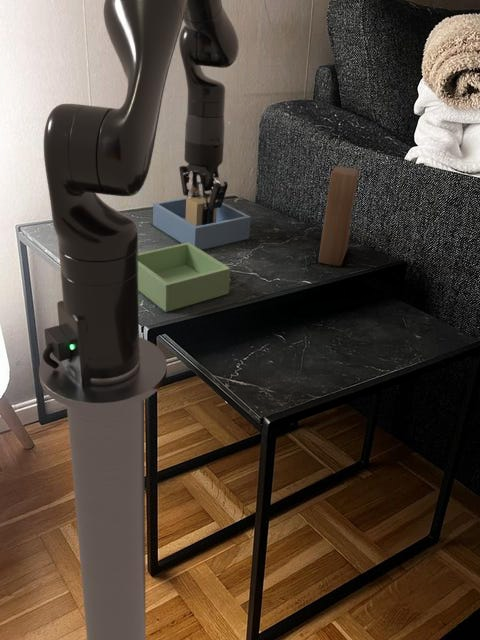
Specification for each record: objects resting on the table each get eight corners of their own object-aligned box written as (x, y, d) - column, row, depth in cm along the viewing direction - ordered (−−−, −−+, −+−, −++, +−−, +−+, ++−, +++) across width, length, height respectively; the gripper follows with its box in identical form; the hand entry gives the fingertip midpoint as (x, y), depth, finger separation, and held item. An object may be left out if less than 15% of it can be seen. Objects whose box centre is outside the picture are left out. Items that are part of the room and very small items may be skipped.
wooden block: (325, 246, 126) (338, 159, 117) (347, 250, 125) (362, 162, 116) (317, 263, 118) (331, 171, 109) (340, 267, 117) (356, 175, 108)
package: (196, 232, 124) (197, 204, 121) (185, 226, 127) (185, 198, 124) (215, 228, 127) (217, 200, 124) (204, 222, 130) (206, 194, 127)
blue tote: (194, 251, 119) (195, 228, 116) (152, 225, 129) (152, 203, 127) (249, 238, 126) (250, 216, 124) (205, 214, 137) (206, 194, 134)
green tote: (165, 312, 97) (166, 285, 95) (126, 281, 106) (126, 255, 103) (228, 293, 104) (230, 268, 102) (187, 266, 113) (188, 242, 110)
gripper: (168, 131, 120) (166, 214, 129) (210, 148, 111) (205, 237, 120) (199, 128, 125) (196, 208, 133) (242, 145, 115) (236, 230, 124)
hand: (200, 221), depth 126 cm, fingers closed on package, 4 cm apart
